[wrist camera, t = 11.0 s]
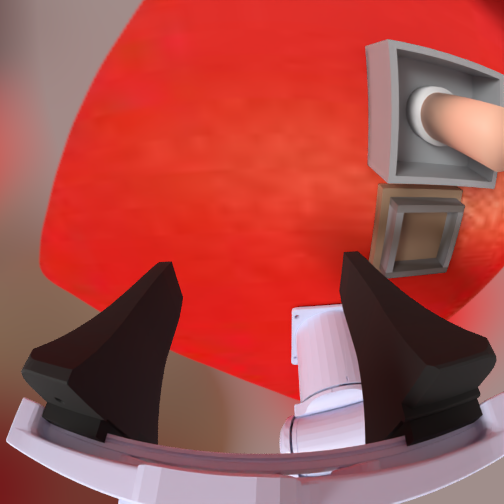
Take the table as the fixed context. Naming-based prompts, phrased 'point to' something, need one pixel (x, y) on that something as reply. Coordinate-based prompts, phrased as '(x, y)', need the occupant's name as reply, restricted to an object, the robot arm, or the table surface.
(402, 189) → the square framed plate
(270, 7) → the table surface
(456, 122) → the peach cylinder
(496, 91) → the bin
